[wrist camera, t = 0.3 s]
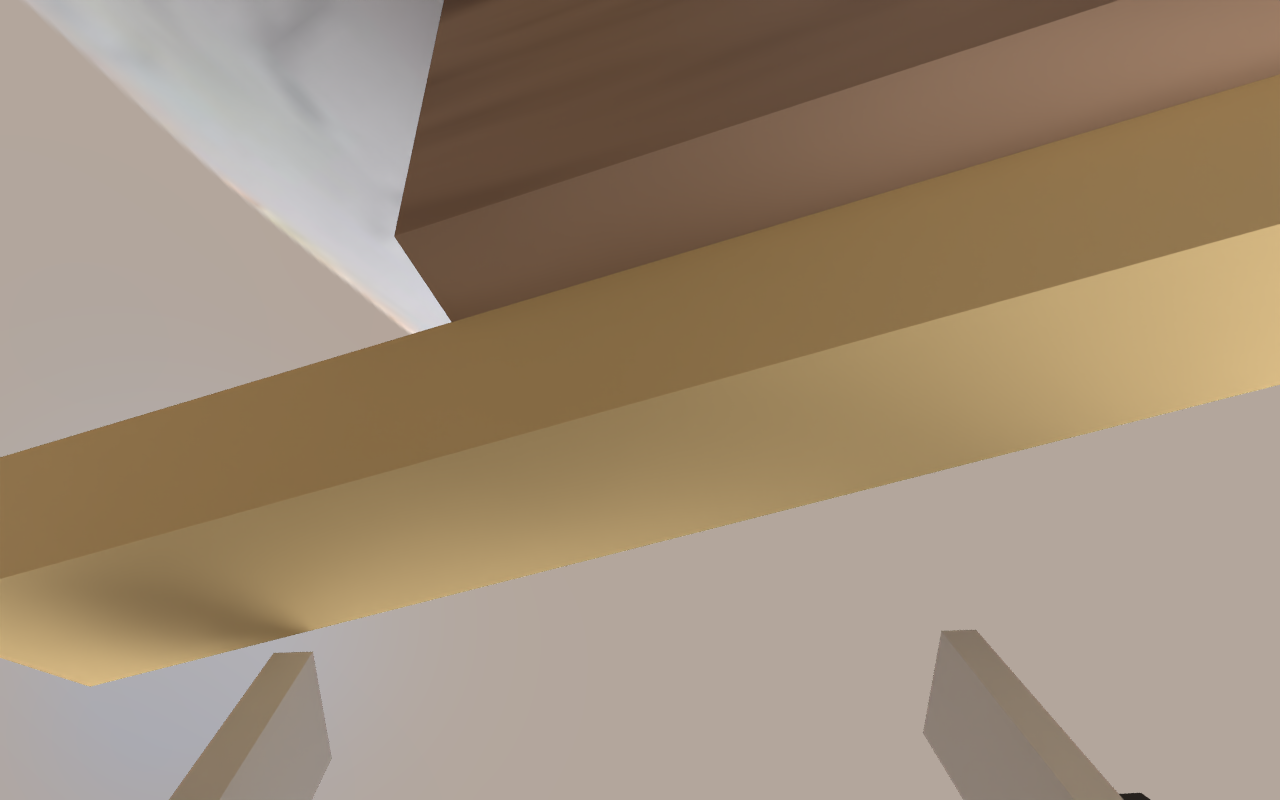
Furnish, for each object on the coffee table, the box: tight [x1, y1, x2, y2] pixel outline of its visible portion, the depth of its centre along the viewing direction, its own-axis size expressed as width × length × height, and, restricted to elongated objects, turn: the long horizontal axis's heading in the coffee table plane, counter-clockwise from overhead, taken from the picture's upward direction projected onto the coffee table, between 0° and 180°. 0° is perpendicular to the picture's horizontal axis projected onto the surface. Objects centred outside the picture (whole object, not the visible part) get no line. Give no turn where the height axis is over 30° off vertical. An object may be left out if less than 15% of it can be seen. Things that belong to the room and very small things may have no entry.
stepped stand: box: [394, 0, 1280, 322], centre depth 25 cm, size 16×18×32 cm
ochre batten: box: [0, 74, 1280, 686], centre depth 11 cm, size 4×28×3 cm, turn 105°
